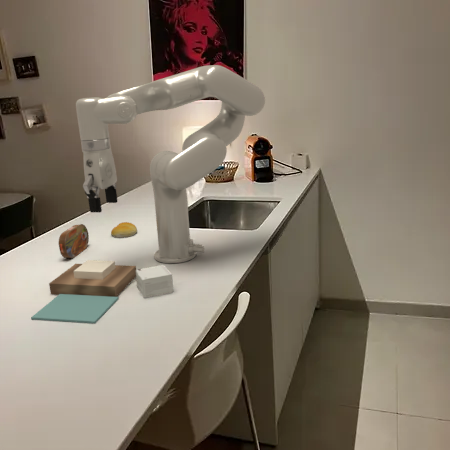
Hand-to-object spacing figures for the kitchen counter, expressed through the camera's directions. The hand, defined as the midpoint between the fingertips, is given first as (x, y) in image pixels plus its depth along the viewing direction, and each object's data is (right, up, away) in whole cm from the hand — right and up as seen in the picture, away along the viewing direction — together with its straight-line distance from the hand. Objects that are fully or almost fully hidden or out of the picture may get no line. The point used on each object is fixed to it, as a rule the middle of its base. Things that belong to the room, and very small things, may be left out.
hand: (104, 207), depth 142 cm
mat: (-2, -25, -19) cm, 31 cm away
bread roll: (-2, -8, +37) cm, 38 cm away
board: (-1, -21, -5) cm, 22 cm away
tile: (-1, -18, -5) cm, 18 cm away
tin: (-14, -14, +20) cm, 28 cm away
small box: (+15, -22, -10) cm, 29 cm away
